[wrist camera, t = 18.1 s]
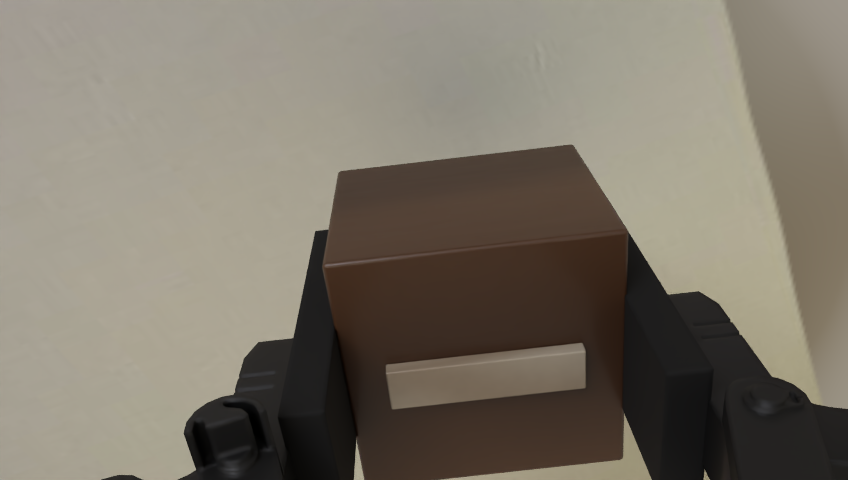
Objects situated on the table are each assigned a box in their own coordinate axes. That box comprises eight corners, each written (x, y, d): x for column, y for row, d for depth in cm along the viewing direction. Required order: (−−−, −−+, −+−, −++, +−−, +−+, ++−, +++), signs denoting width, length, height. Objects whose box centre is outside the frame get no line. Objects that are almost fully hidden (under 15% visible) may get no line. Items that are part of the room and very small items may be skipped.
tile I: (337, 170, 17) (319, 273, 13) (573, 143, 17) (634, 237, 13) (370, 361, 20) (365, 500, 15) (576, 337, 19) (628, 471, 15)
